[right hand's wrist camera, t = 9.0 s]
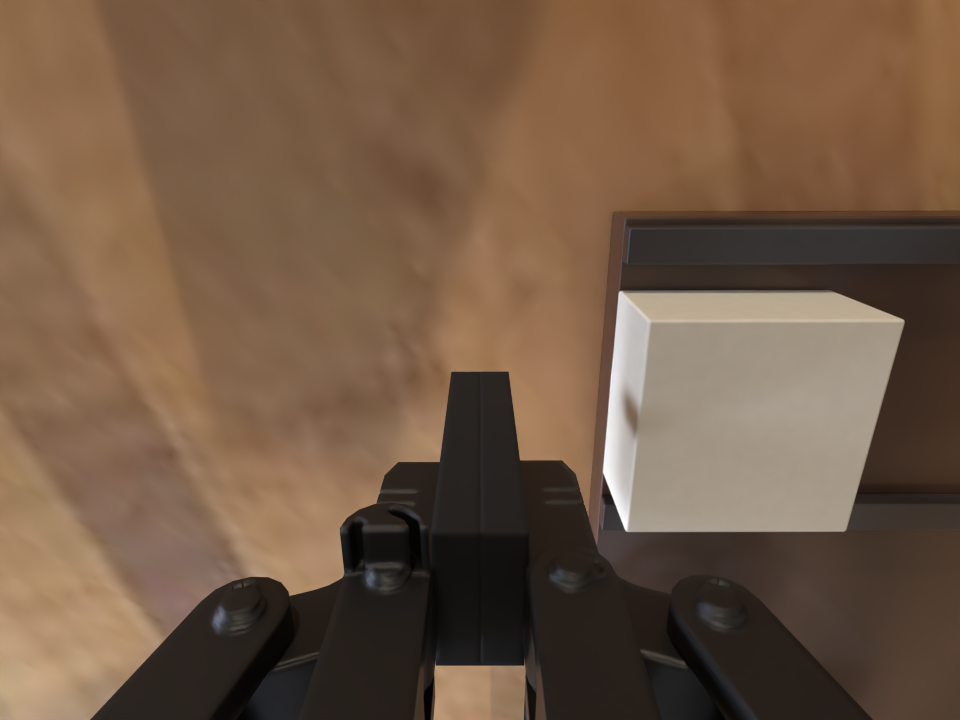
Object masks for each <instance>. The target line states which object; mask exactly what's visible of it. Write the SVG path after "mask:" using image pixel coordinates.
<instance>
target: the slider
mask: <svg viewBox="0 0 960 720" xmlns="http://www.w3.org/2000/svg"><path fill="white" fill-rule="evenodd" d="M904 323H905V322H904V320H903V319H901V318H898V317H896V316H893V315H891V314H888V313H886V312H883V311H881V310H878V309H876V308H873V307H871V306H868V305H866V304H863V303H861V302H858V301H856V300H853V299H851V298H848V297H846V296H843V295H841V294H838V293H835V292H833V291H830V290H644V291H620V292H619V296H618V308H617V319H616V330H615V342H614V353H613V364H612V375H611V387H610V398H609V409H608V421H607V432H606V443H605V454H604V466H603V474H604V476H605V479H606V481H607V484H608V487H609V489H610V492H611V494H612V497H613V500H614V502H615V505H616V508H617V510H618V513H619V515H620V518H621V521H622V523H623V526H624V528H625V531H626V532H844V531H846V529H847V526H848V522H849V519H850V515H851V512H852V508H853V505H854V501H855V497H856V494H857V490H858V487H859V483H860V480H861V476H862V473H863V469H864V465H865V462H866V458H867V455H868V451H869V448H870V444H871V441H872V437H873V434H874V430H875V426H876V423H877V419H878V416H879V412H880V409H881V405H882V402H883V398H884V394H885V391H886V387H887V384H888V380H889V377H890V373H891V370H892V366H893V362H894V359H895V355H896V352H897V348H898V345H899V341H900V338H901V334H902V330H903V327H904Z"/></svg>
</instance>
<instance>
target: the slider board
mask: <svg viewBox="0 0 960 720" xmlns="http://www.w3.org/2000/svg"><path fill="white" fill-rule="evenodd" d="M644 290H830V291H833V292H835V293H838V294H841V295H843V296H846V297H848V298H851V299H853V300H856V301H858V302H861V303H863V304H866V305H868V306H871V307H873V308H876V309H878V310H881V311H883V312H886V313H888V314H891V315H893V316H896V317H898V318H901V319H903V320H904V322H905V323H904V327H903V330H902V334H901V338H900V341H899V345H898V348H897V352H896V355H895V359H894V362H893V366H892V370H891V373H890V377H889V380H888V384H887V387H886V391H885V394H884V398H883V402H882V405H881V409H880V412H879V416H878V419H877V423H876V426H875V430H874V434H873V437H872V441H871V444H870V448H869V451H868V455H867V458H866V462H865V465H864V469H863V473H862V476H861V480H860V483H859V487H858V490H857V494H856V497H855V501H854V505H853V508H852V512H851V515H850V519H849V522H848V526H847V529H846V531H844V532H626V531H625V528H624V526H623V523H622V521H621V518H620V515H619V513H618V510H617V508H616V505H615V502H614V500H613V497H612V494H611V492H610V489H609V487H608V484H607V481H606V479H605V476H604V474H603V466H604V454H605V443H606V432H607V421H608V409H609V398H610V387H611V375H612V364H613V353H614V342H615V330H616V319H617V308H618V296H619V292H620V291H644ZM588 518H589V522H590V525H591V528H592V532H593V535H594V539H595V542H596V545H597V549H598V552H599V554H600V555H602V556H603V557H604V558H605V559H607V560H608V561H609V562H610V564H611V566H612V567H613V569H614V571H615V572H616V575H617V576H619V577H620V578H622V579H624V580H626V581H628V582H630V583H632V584H635V585H638V586H641V587H644V588H648V589H652V590H656V591H660V592H664V593H669V594H671V592H672V589H673V588H674V586H675V585H676V584H677V583H678V581H679V580H681V579H684V578H686V577H689V576H691V575H713V576H717V577H721V578H726V579H729V580H731V581H733V582H735V583H737V584H739V585H741V586H743V587H745V588H746V589H747V590H749V591H750V592H751V593H752V594H754V595H755V596H756V597H757V598H759V599H760V600H761V601H762V602H763V603H764V605H765V606H766V607H767V608H768V609H769V610H770V611H771V612H772V613H773V614H774V615H775V616H776V617H777V618H778V619H779V620H780V621H781V623H782V624H783V625H784V626H785V627H786V628H787V629H788V630H789V631H790V632H791V633H792V634H793V635H794V636H795V637H796V638H797V640H798V641H799V642H800V643H801V644H802V645H803V646H804V647H805V648H806V649H807V650H808V651H809V652H810V653H811V654H812V655H813V656H814V658H815V659H816V660H817V661H818V662H819V663H820V664H821V665H822V666H823V667H824V668H825V669H826V670H827V671H828V672H829V673H830V675H831V676H832V677H833V678H834V679H835V680H836V681H837V682H838V683H839V684H840V685H841V686H842V687H843V688H844V689H845V690H846V691H847V693H848V694H849V695H850V696H851V697H852V698H853V699H854V700H855V701H856V702H857V703H858V704H859V705H860V706H861V707H862V708H863V710H864V711H865V712H866V713H867V714H868V715H869V716H870V717H871V718H872V719H873V720H960V211H684V212H614V213H613V217H612V230H611V242H610V254H609V267H608V279H607V292H606V304H605V317H604V329H603V341H602V354H601V366H600V379H599V391H598V404H597V416H596V429H595V441H594V453H593V466H592V478H591V491H590V503H589V516H588Z"/></svg>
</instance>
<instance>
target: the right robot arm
mask: <svg viewBox="0 0 960 720" xmlns="http://www.w3.org/2000/svg"><path fill="white" fill-rule="evenodd" d="M340 536H341V545H342V554H343V564H344V576H343V578H342V579H340V580H338V581H336V582H334V583H332V584H331V585H329V586H326V587H323V588H320V589H317V590H313V591H309V592H305V593H301V594H297V595H292V596H289V592H288V591H287V589H286V588H285V587H284V586H283V584H282V583H281V582H278V581H276V580H273V579H271V578H268V577H249V578H245V579H240V580H236V581H233V582H230V583H228V584H226V585H224V586H222V587H220V588H218V589H216V590H215V591H213V592H212V593H211V594H210V595H209V596H207V597H206V598H205V599H204V600H202V601H201V602H200V603H199V604H198V605H197V606H196V608H195V609H194V610H193V611H192V612H191V613H190V614H189V615H188V616H187V617H186V618H185V619H184V620H183V621H182V622H181V624H180V625H179V626H178V627H177V628H176V629H175V630H174V631H173V632H172V633H171V634H170V635H169V636H168V637H167V638H166V640H165V641H164V642H163V643H162V644H161V645H160V646H159V647H158V648H157V649H156V650H155V651H154V652H153V653H152V654H151V656H150V657H149V658H148V659H147V660H146V661H145V662H144V663H143V664H142V665H141V666H140V667H139V668H138V669H137V670H136V672H135V673H134V674H133V675H132V676H131V677H130V678H129V679H128V680H127V681H126V682H125V683H124V684H123V685H122V687H121V688H120V689H119V690H118V691H117V692H116V693H115V694H114V695H113V696H112V697H111V698H110V699H109V700H108V701H107V703H106V704H105V705H104V706H103V707H102V708H101V709H100V710H99V711H98V712H97V713H96V714H95V715H94V716H93V717H92V719H91V720H433V717H434V704H435V681H434V670H435V659H436V665H510V666H516V665H524V656H525V667H526V681H525V706H524V720H873V719H872V718H871V717H870V716H869V715H868V714H867V713H866V712H865V711H864V710H863V708H862V707H861V706H860V705H859V704H858V703H857V702H856V701H855V700H854V699H853V698H852V697H851V696H850V695H849V694H848V693H847V691H846V690H845V689H844V688H843V687H842V686H841V685H840V684H839V683H838V682H837V681H836V680H835V679H834V678H833V677H832V676H831V675H830V673H829V672H828V671H827V670H826V669H825V668H824V667H823V666H822V665H821V664H820V663H819V662H818V661H817V660H816V659H815V658H814V656H813V655H812V654H811V653H810V652H809V651H808V650H807V649H806V648H805V647H804V646H803V645H802V644H801V643H800V642H799V641H798V640H797V638H796V637H795V636H794V635H793V634H792V633H791V632H790V631H789V630H788V629H787V628H786V627H785V626H784V625H783V624H782V623H781V621H780V620H779V619H778V618H777V617H776V616H775V615H774V614H773V613H772V612H771V611H770V610H769V609H768V608H767V607H766V606H765V605H764V603H763V602H762V601H761V600H760V599H759V598H757V597H756V596H755V595H754V594H752V593H751V592H750V591H749V590H747V589H746V588H745V587H743V586H741V585H739V584H737V583H735V582H733V581H731V580H729V579H726V578H721V577H717V576H713V575H691V576H689V577H686V578H684V579H681V580H679V581H678V583H677V584H676V585H675V586H674V588H673V589H672V592H671V594H669V593H664V592H660V591H656V590H652V589H648V588H644V587H641V586H638V585H635V584H632V583H630V582H628V581H626V580H624V579H622V578H620V577H619V576H617V575H616V572H615V571H614V569H613V567H612V566H611V564H610V562H609V561H608V560H607V559H605V558H604V557H603V556H602V555H600V554H599V552H598V549H597V545H596V542H595V539H594V535H593V532H592V528H591V525H590V522H589V518H588V515H587V511H586V508H585V505H584V501H583V498H582V495H581V492H580V488H579V484H578V481H577V478H576V474H575V473H574V472H573V471H572V470H571V469H570V468H569V467H568V466H567V465H566V464H565V463H564V462H563V461H520V458H519V450H518V442H517V434H516V427H515V419H514V411H513V403H512V396H511V388H510V380H509V372H451V380H450V388H449V396H448V403H447V411H446V419H445V427H444V434H443V442H442V450H441V458H440V462H398V463H397V464H396V465H395V466H394V467H393V468H392V469H391V470H390V471H389V472H388V473H387V474H386V475H385V476H384V480H383V483H382V487H381V490H380V494H379V497H378V500H377V504H374V505H371V506H368V507H365V508H363V509H360V510H358V511H357V512H355V513H354V514H352V515H351V516H349V517H348V518H347V519H346V520H345V522H344V523H343V525H342V526H341V528H340Z"/></svg>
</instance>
